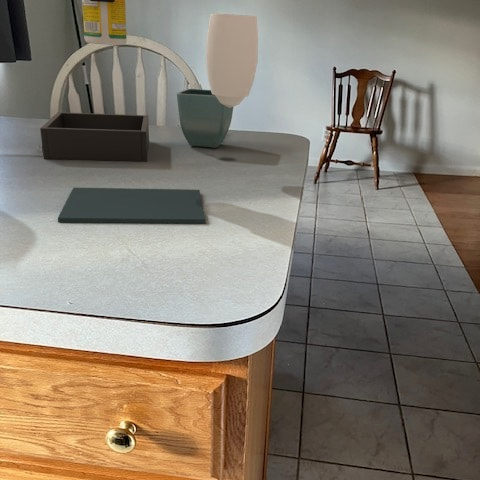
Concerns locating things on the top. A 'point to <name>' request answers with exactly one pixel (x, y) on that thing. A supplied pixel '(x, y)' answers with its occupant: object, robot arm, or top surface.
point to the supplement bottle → (104, 22)
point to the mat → (133, 206)
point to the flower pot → (203, 117)
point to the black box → (96, 137)
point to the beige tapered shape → (231, 56)
